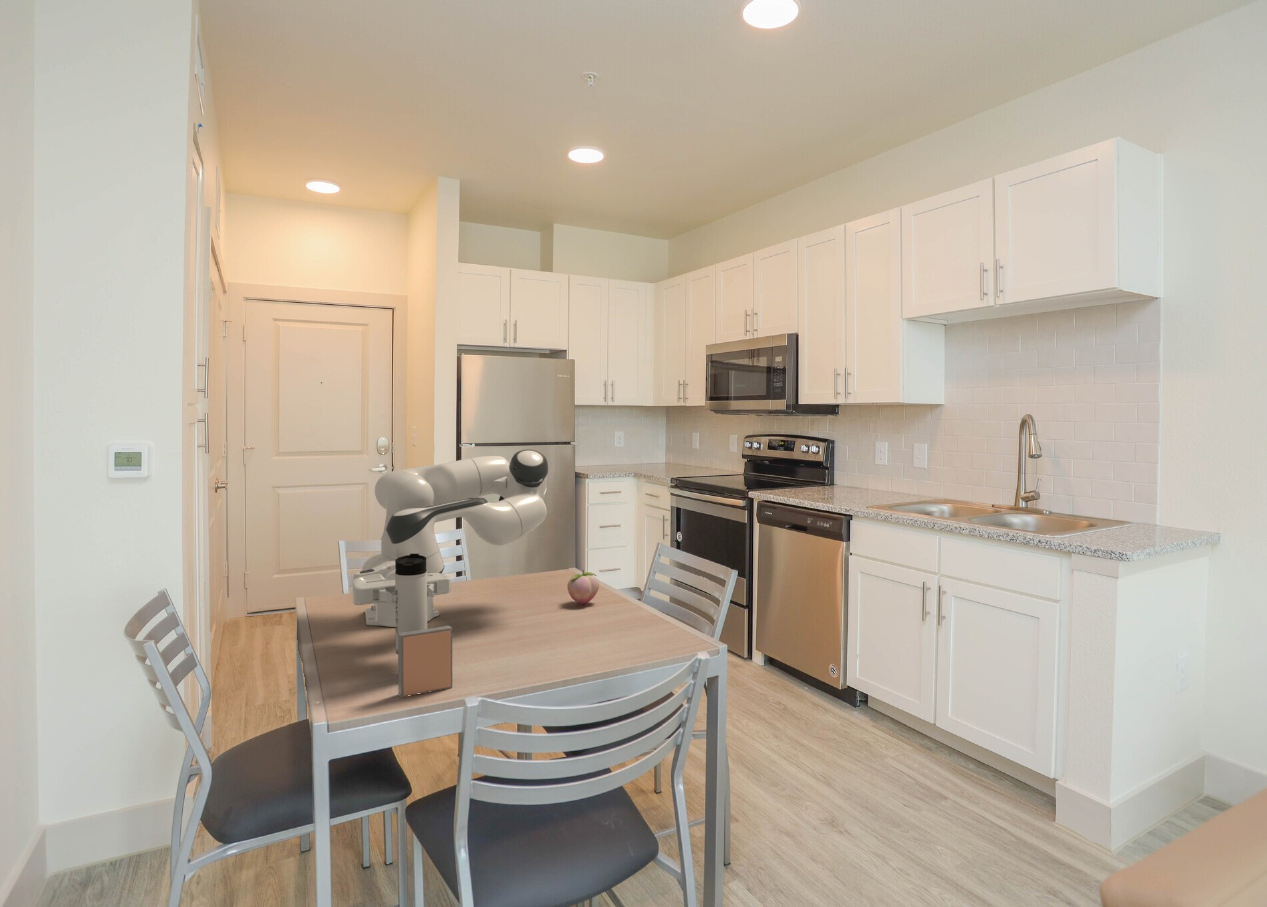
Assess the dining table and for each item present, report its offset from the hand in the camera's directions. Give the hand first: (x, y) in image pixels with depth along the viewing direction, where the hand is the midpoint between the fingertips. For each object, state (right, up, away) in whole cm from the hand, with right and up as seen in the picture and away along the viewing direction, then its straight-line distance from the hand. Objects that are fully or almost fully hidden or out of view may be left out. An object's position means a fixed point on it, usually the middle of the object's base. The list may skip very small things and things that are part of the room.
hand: (412, 596), depth 148 cm
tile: (+5, -17, -7) cm, 19 cm away
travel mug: (0, -12, +1) cm, 12 cm away
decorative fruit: (+31, -14, +59) cm, 68 cm away
